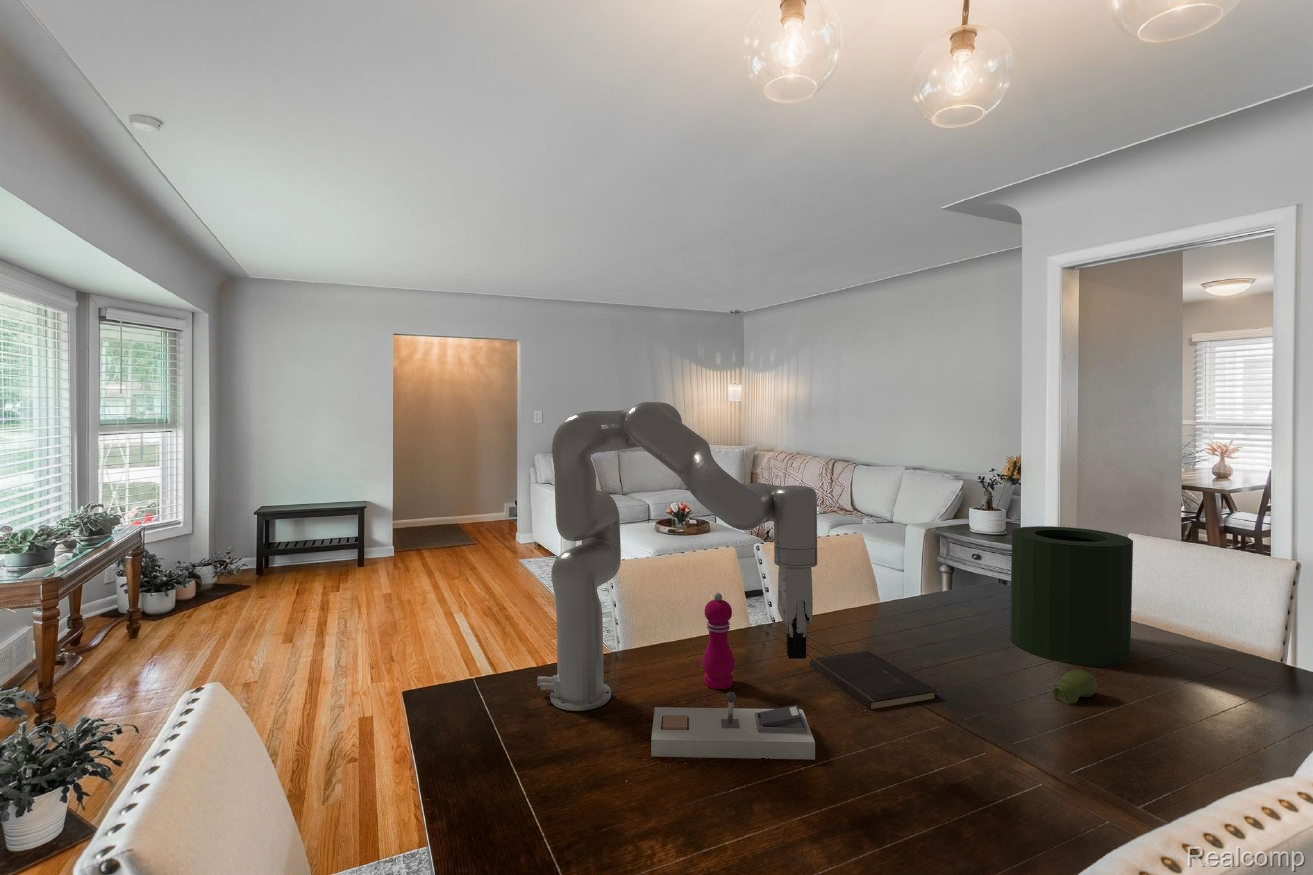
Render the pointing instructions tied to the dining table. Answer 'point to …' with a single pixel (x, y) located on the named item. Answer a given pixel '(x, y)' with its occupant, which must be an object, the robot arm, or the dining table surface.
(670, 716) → the push button
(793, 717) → the panel
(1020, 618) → the flower pot
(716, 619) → the pepper mill
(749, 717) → the control panel
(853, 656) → the hardcover book
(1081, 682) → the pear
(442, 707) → the dining table surface
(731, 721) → the toggle lever
